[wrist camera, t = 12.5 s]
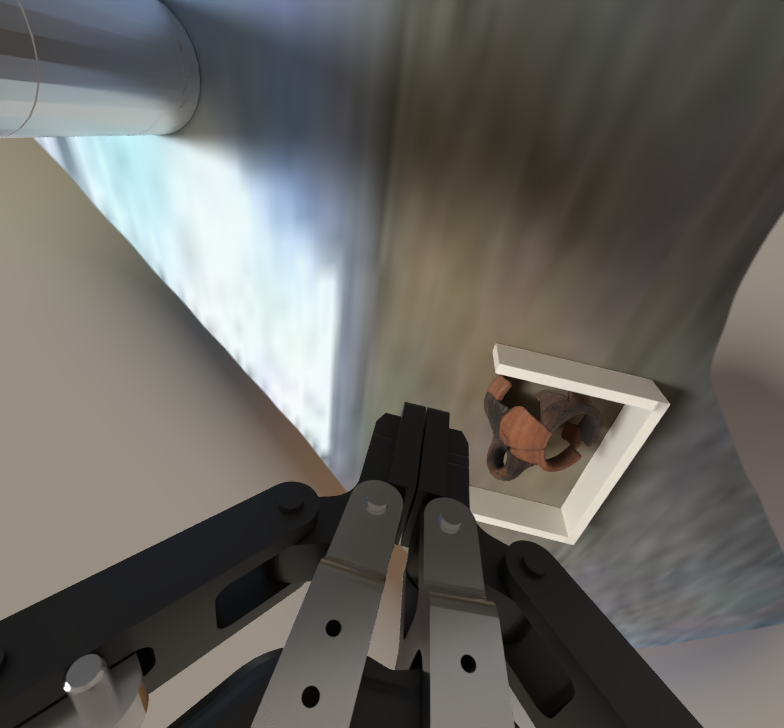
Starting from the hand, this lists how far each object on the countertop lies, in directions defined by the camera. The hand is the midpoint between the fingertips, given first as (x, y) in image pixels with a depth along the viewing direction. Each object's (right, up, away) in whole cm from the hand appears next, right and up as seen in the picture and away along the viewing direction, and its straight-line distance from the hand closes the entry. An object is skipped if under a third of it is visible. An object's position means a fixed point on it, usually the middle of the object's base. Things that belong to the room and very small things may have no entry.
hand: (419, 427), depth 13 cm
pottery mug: (+13, -3, +29) cm, 32 cm away
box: (+14, -6, +30) cm, 34 cm away
